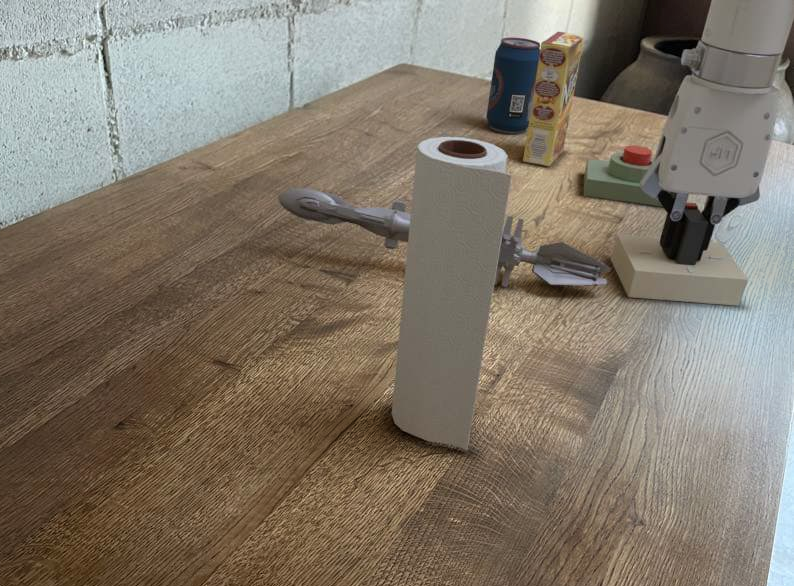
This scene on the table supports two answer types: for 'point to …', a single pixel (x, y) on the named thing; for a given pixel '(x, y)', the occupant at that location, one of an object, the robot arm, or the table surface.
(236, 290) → the table surface
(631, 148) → the red push button
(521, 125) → the soda can
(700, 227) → the hob knob
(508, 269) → the spaceship
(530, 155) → the candy box
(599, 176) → the switch box
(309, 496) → the table surface
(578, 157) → the table surface
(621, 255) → the panel
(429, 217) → the paper towel roll
